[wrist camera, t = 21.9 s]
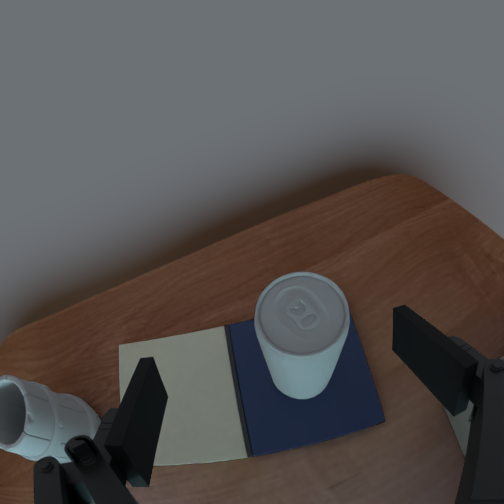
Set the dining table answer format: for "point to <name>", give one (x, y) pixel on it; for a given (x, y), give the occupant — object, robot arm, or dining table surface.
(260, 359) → the board
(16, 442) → the mug
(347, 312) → the beverage can
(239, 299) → the dining table surface
